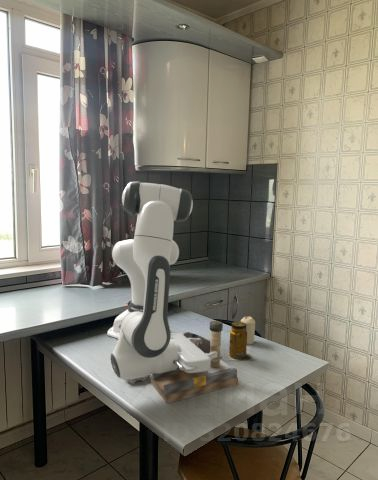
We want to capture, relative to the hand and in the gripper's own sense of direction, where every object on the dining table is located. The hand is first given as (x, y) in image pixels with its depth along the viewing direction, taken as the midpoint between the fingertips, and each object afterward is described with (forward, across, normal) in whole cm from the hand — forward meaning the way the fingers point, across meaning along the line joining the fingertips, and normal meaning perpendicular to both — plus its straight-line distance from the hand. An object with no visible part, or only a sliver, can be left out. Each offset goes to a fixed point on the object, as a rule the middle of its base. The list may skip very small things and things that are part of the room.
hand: (208, 347), depth 115 cm
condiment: (+19, +10, +11) cm, 24 cm away
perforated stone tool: (+6, +16, +11) cm, 20 cm away
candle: (+28, +19, +11) cm, 36 cm away
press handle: (+2, 0, +9) cm, 9 cm away
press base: (-5, 0, +11) cm, 12 cm away
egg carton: (-20, +13, +11) cm, 26 cm away
